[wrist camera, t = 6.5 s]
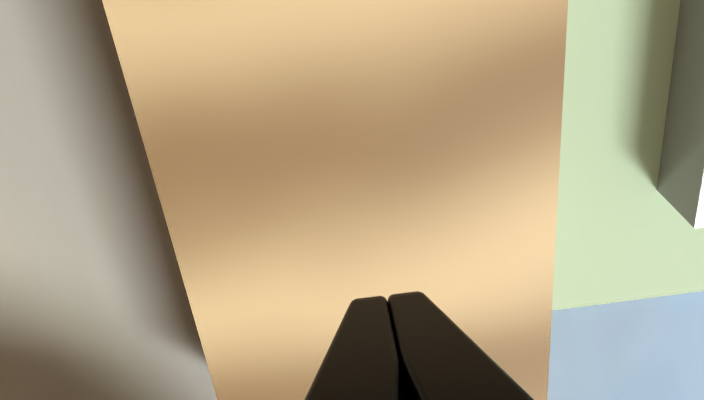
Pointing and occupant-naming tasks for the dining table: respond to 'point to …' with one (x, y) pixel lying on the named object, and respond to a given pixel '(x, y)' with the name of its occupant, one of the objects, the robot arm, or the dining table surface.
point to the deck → (351, 169)
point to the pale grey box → (685, 119)
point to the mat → (619, 160)
